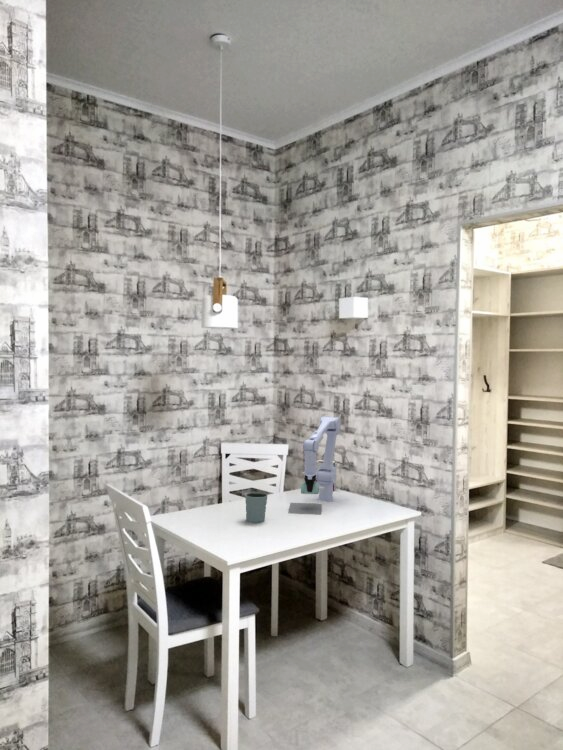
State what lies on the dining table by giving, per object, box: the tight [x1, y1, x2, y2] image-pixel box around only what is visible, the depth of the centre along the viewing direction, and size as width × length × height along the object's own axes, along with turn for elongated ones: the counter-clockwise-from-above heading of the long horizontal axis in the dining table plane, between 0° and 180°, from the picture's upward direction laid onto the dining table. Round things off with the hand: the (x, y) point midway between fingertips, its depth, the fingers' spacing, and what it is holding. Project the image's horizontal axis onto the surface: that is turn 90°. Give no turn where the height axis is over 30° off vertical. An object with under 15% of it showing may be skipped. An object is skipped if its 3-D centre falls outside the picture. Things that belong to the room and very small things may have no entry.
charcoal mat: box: [287, 502, 323, 516], centre depth 287 cm, size 20×16×1 cm
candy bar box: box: [315, 459, 337, 492], centre depth 330 cm, size 11×5×16 cm, turn 72°
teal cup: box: [245, 491, 268, 524], centre depth 266 cm, size 10×10×12 cm
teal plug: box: [300, 481, 324, 495], centre depth 288 cm, size 11×4×5 cm, turn 86°
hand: (309, 490), depth 288 cm, fingers closed on teal plug, 4 cm apart
